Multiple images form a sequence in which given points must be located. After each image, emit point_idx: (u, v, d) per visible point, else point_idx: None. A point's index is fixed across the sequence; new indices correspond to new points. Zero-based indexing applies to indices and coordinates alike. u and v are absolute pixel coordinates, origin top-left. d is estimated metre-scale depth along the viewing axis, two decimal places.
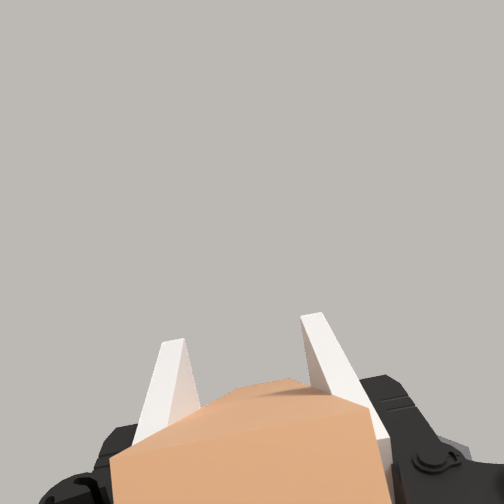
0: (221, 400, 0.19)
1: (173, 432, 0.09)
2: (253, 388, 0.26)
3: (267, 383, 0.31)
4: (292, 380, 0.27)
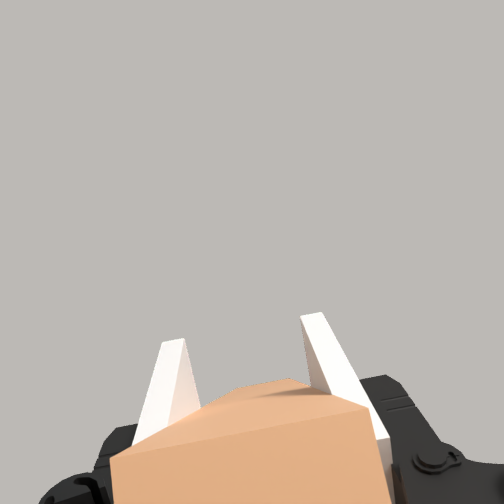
0: (221, 400, 0.19)
1: (173, 432, 0.09)
2: (253, 388, 0.26)
3: (267, 383, 0.31)
4: (292, 380, 0.27)
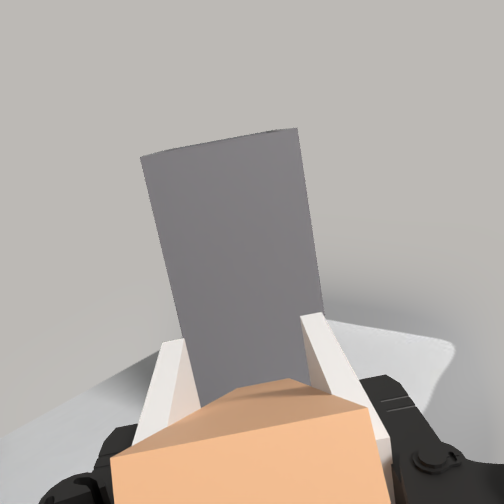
0: (221, 400, 0.19)
1: (173, 432, 0.09)
2: (253, 388, 0.26)
3: (267, 383, 0.31)
4: (292, 380, 0.27)
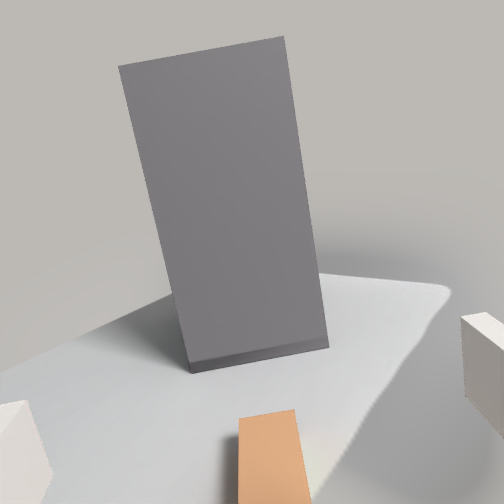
0: None
1: None
2: None
3: (274, 441, 0.29)
4: (306, 484, 0.25)
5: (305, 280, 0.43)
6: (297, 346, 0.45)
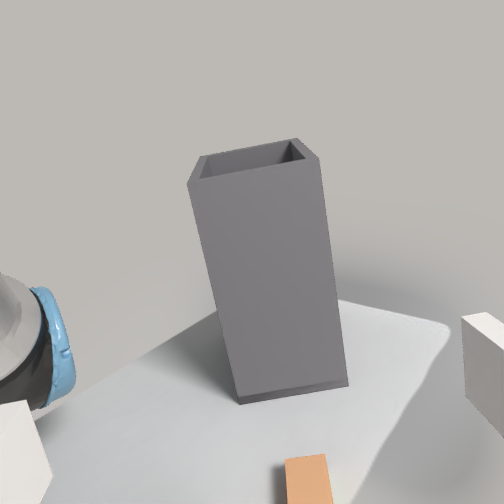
0: None
1: None
2: None
3: (311, 481, 0.42)
4: None
5: (330, 337, 0.54)
6: (323, 385, 0.57)
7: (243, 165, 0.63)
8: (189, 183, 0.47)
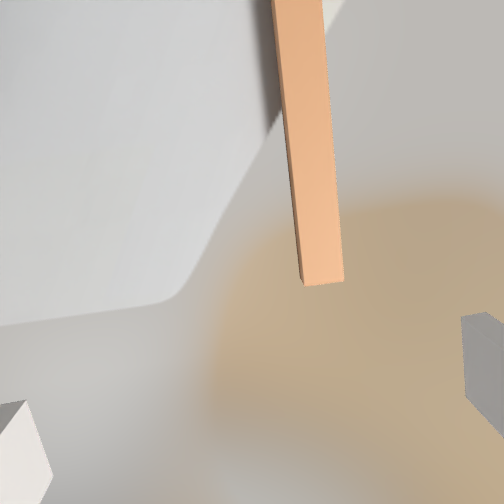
0: (296, 161, 0.42)
1: (307, 265, 0.44)
2: (299, 71, 0.40)
3: (303, 7, 0.38)
4: (325, 56, 0.39)
5: None
6: None
7: None
8: None
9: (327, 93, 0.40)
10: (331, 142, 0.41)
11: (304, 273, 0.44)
